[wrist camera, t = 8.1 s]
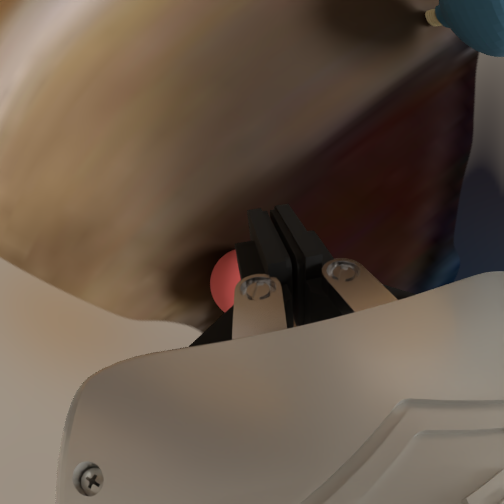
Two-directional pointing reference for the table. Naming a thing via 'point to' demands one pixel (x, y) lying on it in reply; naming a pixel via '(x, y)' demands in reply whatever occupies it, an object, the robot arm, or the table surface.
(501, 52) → the blue ovoid piece
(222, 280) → the ball
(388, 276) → the table surface
